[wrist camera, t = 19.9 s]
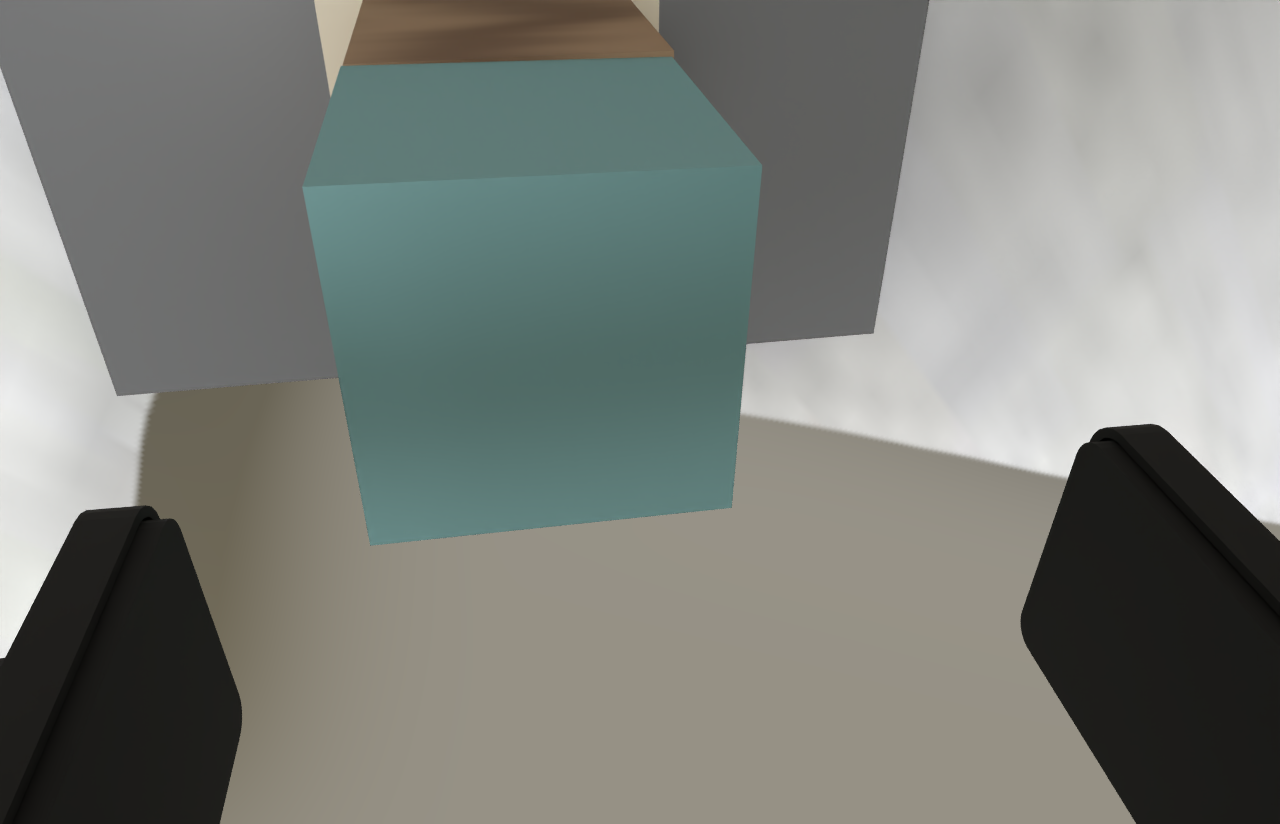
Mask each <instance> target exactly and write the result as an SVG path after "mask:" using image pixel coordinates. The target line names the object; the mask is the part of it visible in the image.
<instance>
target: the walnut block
mask: <svg viewBox="0 0 1280 824" xmlns="http://www.w3.org/2000/svg"><path fill="white" fill-rule="evenodd" d="M638 57H673V58H674V50H673V49H672V48H671V46H670V45H669V44H668V43H667V42H666V41H665V39H664V38H663V37H662V36H661V35H660V34H659V32H658V31H657V30H656V29H655V28H654V27H653V25H652V24H651V23H650V22H649V21H648V20H647V18H646V17H645V16H644V15H643V14H642V13H641V11H640V10H639V9H638V8H637V7H636V6H635V4H634V3H633V2H632V1H631V0H363V1H362V4H361V7H360V10H359V14H358V17H357V20H356V23H355V27H354V30H353V33H352V36H351V39H350V43H349V46H348V49H347V52H346V55H345V59H344V62H343V66H355V65H390V64H426V63H461V62H497V61H532V60H568V59H603V58H638Z"/></svg>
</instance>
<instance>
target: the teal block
mask: <svg viewBox="0 0 1280 824" xmlns="http://www.w3.org/2000/svg"><path fill="white" fill-rule="evenodd" d="M761 174H762V164H761V163H760V162H759V161H758V159H757V158H756V157H755V156H754V155H753V153H752V152H751V151H750V150H749V149H748V147H747V146H746V145H745V144H744V143H743V141H742V140H741V139H740V138H739V137H738V135H737V134H736V133H735V132H734V131H733V129H732V128H731V127H730V126H729V125H728V123H727V122H726V121H725V120H724V119H723V117H722V116H721V115H720V114H719V113H718V111H717V110H716V109H715V108H714V107H713V105H712V104H711V103H710V102H709V101H708V99H707V98H706V97H705V96H704V95H703V93H702V92H701V91H700V90H699V88H698V87H697V86H696V85H695V84H694V82H693V81H692V80H691V79H690V78H689V76H688V75H687V74H686V73H685V72H684V70H683V69H682V68H681V67H680V66H679V64H678V63H677V62H676V61H675V60H674V58H673V57H638V58H603V59H568V60H532V61H497V62H461V63H426V64H390V65H355V66H340V70H339V73H338V76H337V79H336V82H335V85H334V89H333V92H332V95H331V98H330V101H329V104H328V107H327V111H326V114H325V117H324V120H323V123H322V126H321V130H320V133H319V136H318V139H317V142H316V145H315V148H314V152H313V155H312V158H311V161H310V164H309V167H308V171H307V174H306V177H305V180H304V183H303V186H302V188H303V193H304V198H305V204H306V209H307V214H308V220H309V225H310V230H311V235H312V241H313V246H314V251H315V256H316V262H317V267H318V272H319V277H320V283H321V288H322V293H323V299H324V304H325V309H326V314H327V320H328V325H329V330H330V335H331V341H332V346H333V351H334V356H335V362H336V367H337V372H338V378H339V383H340V388H341V393H342V398H343V404H344V409H345V414H346V419H347V424H348V430H349V435H350V441H351V446H352V451H353V456H354V462H355V466H356V472H357V477H358V482H359V488H360V493H361V499H362V503H363V509H364V514H365V520H366V525H367V530H368V536H369V540H370V545H379V544H390V543H399V542H408V541H419V540H428V539H438V538H447V537H457V536H466V535H476V534H485V533H494V532H504V531H514V530H524V529H533V528H543V527H552V526H562V525H571V524H581V523H591V522H600V521H609V520H619V519H629V518H637V517H648V516H656V515H667V514H677V513H686V512H695V511H704V510H714V509H724V508H731V507H732V498H733V486H734V474H735V464H736V453H737V452H736V451H737V441H738V431H739V420H740V408H741V397H742V386H743V375H744V364H745V353H746V342H747V330H748V319H749V308H750V297H751V286H752V275H753V264H754V252H755V241H756V230H757V219H758V208H759V197H760V185H761Z"/></svg>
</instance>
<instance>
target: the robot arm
mask: <svg viewBox="0 0 1280 824" xmlns="http://www.w3.org/2000/svg"><path fill="white" fill-rule="evenodd" d="M1021 631H1022V635H1023V639H1024V641H1025V644H1026V646H1027V648H1028V649H1029V651H1030V652H1031V654H1032V656H1033V657H1034V659H1035V661H1036V662H1037V664H1038V665H1039V667H1040V669H1041V670H1042V672H1043V674H1044V675H1045V677H1046V678H1047V680H1048V682H1049V683H1050V685H1051V687H1052V688H1053V690H1054V691H1055V693H1056V695H1057V696H1058V698H1059V699H1060V701H1061V703H1062V704H1063V706H1064V708H1065V709H1066V711H1067V712H1068V714H1069V716H1070V717H1071V718H1072V720H1073V722H1074V724H1075V725H1076V727H1077V729H1078V730H1079V732H1080V733H1081V735H1082V737H1083V738H1084V740H1085V741H1086V743H1087V745H1088V746H1089V748H1090V750H1091V751H1092V753H1093V754H1094V756H1095V758H1096V759H1097V761H1098V763H1099V764H1100V766H1101V767H1102V769H1103V770H1104V772H1105V774H1106V775H1107V777H1108V779H1109V780H1110V782H1111V784H1112V785H1113V787H1114V788H1115V790H1116V792H1117V793H1118V795H1119V796H1120V798H1121V799H1122V801H1123V803H1124V804H1125V806H1126V808H1127V809H1128V811H1129V812H1130V814H1131V815H1132V817H1133V819H1134V821H1135V822H1136V824H1280V541H1279V540H1278V539H1277V538H1276V537H1275V536H1274V535H1273V534H1272V533H1271V532H1270V531H1269V530H1268V529H1267V528H1266V527H1265V526H1264V525H1263V524H1262V523H1260V521H1259V520H1257V519H1256V518H1255V517H1254V516H1253V515H1252V514H1251V513H1250V512H1249V511H1248V510H1247V509H1246V508H1245V507H1244V506H1243V505H1242V504H1241V503H1240V502H1239V501H1238V500H1237V499H1236V498H1235V497H1234V496H1233V495H1232V494H1231V493H1230V492H1229V491H1228V490H1227V489H1226V488H1225V487H1224V486H1223V485H1222V484H1221V483H1220V482H1219V481H1218V480H1217V479H1216V478H1215V477H1214V476H1213V475H1212V474H1211V473H1210V472H1209V471H1208V470H1207V469H1206V468H1204V467H1203V466H1202V465H1201V464H1200V463H1199V462H1198V461H1197V460H1196V459H1195V458H1194V457H1193V456H1192V455H1191V454H1190V453H1189V452H1188V451H1187V450H1186V449H1185V448H1184V447H1183V446H1182V445H1181V444H1180V443H1179V442H1178V441H1177V440H1176V439H1175V438H1174V437H1173V436H1172V435H1171V434H1170V433H1169V432H1168V431H1166V430H1165V429H1164V428H1162V427H1161V426H1159V425H1154V424H1144V425H1132V426H1120V427H1107V428H1103V429H1099V430H1098V431H1097V432H1096V433H1095V434H1094V435H1093V436H1092V438H1091V440H1090V442H1089V443H1085V444H1083V445H1082V446H1081V447H1080V448H1079V450H1078V452H1077V454H1076V457H1075V460H1074V463H1073V466H1072V469H1071V472H1070V475H1069V477H1068V480H1067V483H1066V486H1065V489H1064V492H1063V495H1062V498H1061V501H1060V504H1059V506H1058V509H1057V512H1056V515H1055V518H1054V521H1053V524H1052V527H1051V529H1050V532H1049V535H1048V538H1047V541H1046V544H1045V547H1044V550H1043V553H1042V555H1041V558H1040V561H1039V564H1038V567H1037V570H1036V573H1035V576H1034V578H1033V582H1032V584H1031V587H1030V590H1029V593H1028V596H1027V599H1026V602H1025V604H1024V608H1023V610H1022V614H1021ZM241 726H242V707H241V700H240V696H239V693H238V690H237V688H236V685H235V682H234V679H233V676H232V674H231V671H230V668H229V665H228V662H227V659H226V656H225V654H224V651H223V648H222V645H221V642H220V640H219V637H218V634H217V631H216V628H215V625H214V622H213V620H212V617H211V614H210V611H209V608H208V605H207V603H206V600H205V597H204V594H203V591H202V589H201V586H200V583H199V580H198V577H197V574H196V572H195V569H194V566H193V563H192V561H191V557H190V555H189V552H188V549H187V546H186V543H185V540H184V538H183V535H182V532H181V529H180V527H179V525H178V523H177V522H176V521H175V520H174V519H160V518H159V516H158V514H157V512H156V511H155V510H154V509H153V508H152V507H150V506H133V507H121V508H109V509H96V510H86V511H84V512H83V513H81V514H80V515H79V516H78V518H77V519H76V521H75V522H74V524H73V526H72V528H71V530H70V532H69V534H68V536H67V538H66V540H65V542H64V544H63V546H62V548H61V550H60V552H59V554H58V556H57V557H56V559H55V561H54V563H53V565H52V567H51V569H50V571H49V573H48V575H47V577H46V579H45V581H44V583H43V585H42V587H41V589H40V591H39V593H38V595H37V597H36V599H35V601H34V603H33V604H32V606H31V608H30V610H29V612H28V614H27V616H26V618H25V620H24V622H23V624H22V626H21V628H20V630H19V632H18V634H17V636H16V638H15V640H14V642H13V644H12V646H11V648H10V650H9V652H8V653H7V655H6V657H5V658H0V824H220V820H221V815H222V811H223V807H224V803H225V798H226V794H227V790H228V785H229V781H230V777H231V772H232V768H233V764H234V759H235V755H236V751H237V746H238V742H239V737H240V733H241Z"/></svg>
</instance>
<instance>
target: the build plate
mask: <svg viewBox="0 0 1280 824" xmlns="http://www.w3.org/2000/svg"><path fill="white" fill-rule="evenodd" d="M362 1H363V0H0V67H1V70H2V73H3V76H4V79H5V82H6V84H7V87H8V90H9V93H10V96H11V98H12V101H13V104H14V107H15V110H16V112H17V115H18V118H19V121H20V124H21V127H22V129H23V132H24V135H25V138H26V141H27V143H28V146H29V149H30V152H31V155H32V157H33V160H34V163H35V166H36V169H37V172H38V174H39V177H40V180H41V183H42V186H43V188H44V191H45V194H46V197H47V200H48V203H49V205H50V208H51V211H52V214H53V217H54V219H55V222H56V225H57V228H58V231H59V233H60V236H61V239H62V242H63V245H64V248H65V250H66V253H67V256H68V259H69V262H70V264H71V267H72V270H73V273H74V276H75V278H76V281H77V284H78V287H79V290H80V293H81V295H82V298H83V301H84V304H85V307H86V309H87V312H88V315H89V318H90V321H91V324H92V326H93V329H94V332H95V335H96V338H97V340H98V343H99V346H100V349H101V352H102V354H103V357H104V360H105V363H106V366H107V369H108V371H109V374H110V377H111V380H112V383H113V385H114V388H115V391H116V394H117V396H123V395H135V394H147V393H159V392H171V391H183V390H195V389H207V388H219V387H231V386H243V385H255V384H267V383H280V382H291V381H304V380H316V379H328V378H338V372H337V367H336V362H335V356H334V351H333V346H332V341H331V335H330V330H329V325H328V320H327V314H326V309H325V304H324V299H323V293H322V288H321V283H320V277H319V272H318V267H317V262H316V256H315V251H314V246H313V241H312V235H311V230H310V225H309V220H308V214H307V209H306V204H305V198H304V193H303V188H302V186H303V183H304V180H305V177H306V174H307V171H308V167H309V164H310V161H311V158H312V155H313V152H314V148H315V145H316V142H317V139H318V136H319V133H320V130H321V126H322V123H323V120H324V117H325V114H326V111H327V107H328V104H329V101H330V98H331V95H332V92H333V89H334V85H335V82H336V79H337V76H338V73H339V70H340V66H343V62H344V59H345V55H346V52H347V49H348V46H349V43H350V39H351V36H352V33H353V30H354V27H355V23H356V20H357V17H358V14H359V10H360V7H361V4H362ZM631 1H632V2H633V3H634V4H635V6H636V7H637V8H638V9H639V10H640V11H641V13H642V14H643V15H644V16H645V17H646V18H647V20H648V21H649V22H650V23H651V24H652V25H653V27H654V28H655V29H656V30H657V31H658V32H659V34H660V35H661V36H662V37H663V38H664V39H665V41H666V42H667V43H668V44H669V45H670V46H671V48H672V49H673V50H674V60H675V61H676V62H677V63H678V64H679V66H680V67H681V68H682V69H683V70H684V72H685V73H686V74H687V75H688V76H689V78H690V79H691V80H692V81H693V82H694V84H695V85H696V86H697V87H698V88H699V90H700V91H701V92H702V93H703V95H704V96H705V97H706V98H707V99H708V101H709V102H710V103H711V104H712V105H713V107H714V108H715V109H716V110H717V111H718V113H719V114H720V115H721V116H722V117H723V119H724V120H725V121H726V122H727V123H728V125H729V126H730V127H731V128H732V129H733V131H734V132H735V133H736V134H737V135H738V137H739V138H740V139H741V140H742V141H743V143H744V144H745V145H746V146H747V147H748V149H749V150H750V151H751V152H752V153H753V155H754V156H755V157H756V158H757V159H758V161H759V162H760V163H761V164H762V174H761V185H760V197H759V208H758V219H757V230H756V241H755V252H754V264H753V275H752V286H751V297H750V308H749V319H748V330H747V342H746V344H750V343H763V342H775V341H787V340H799V339H811V338H823V337H835V336H847V335H859V334H871V333H874V327H875V321H876V315H877V309H878V303H879V297H880V291H881V285H882V279H883V273H884V267H885V261H886V255H887V249H888V243H889V237H890V231H891V225H892V219H893V213H894V208H895V202H896V196H897V190H898V184H899V178H900V172H901V166H902V160H903V154H904V148H905V142H906V136H907V130H908V124H909V118H910V112H911V106H912V100H913V94H914V88H915V82H916V76H917V70H918V64H919V58H920V52H921V46H922V40H923V34H924V29H925V23H926V17H927V11H928V5H929V0H631Z"/></svg>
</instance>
